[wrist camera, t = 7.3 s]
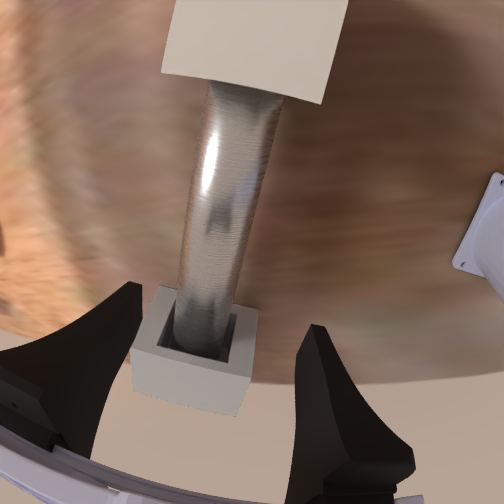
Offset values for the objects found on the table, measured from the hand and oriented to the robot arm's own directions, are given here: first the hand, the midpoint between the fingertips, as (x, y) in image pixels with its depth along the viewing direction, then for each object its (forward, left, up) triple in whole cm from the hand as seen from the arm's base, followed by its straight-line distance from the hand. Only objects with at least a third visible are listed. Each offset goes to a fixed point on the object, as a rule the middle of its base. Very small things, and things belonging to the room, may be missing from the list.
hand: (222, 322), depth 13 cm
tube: (+1, -1, -8) cm, 8 cm away
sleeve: (+1, -13, -10) cm, 16 cm away
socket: (+1, +10, -10) cm, 14 cm away
